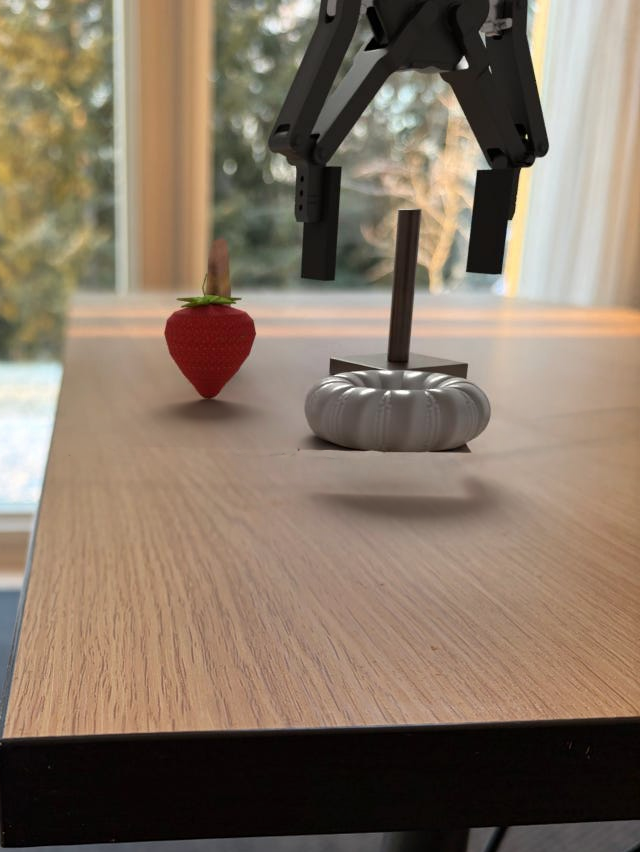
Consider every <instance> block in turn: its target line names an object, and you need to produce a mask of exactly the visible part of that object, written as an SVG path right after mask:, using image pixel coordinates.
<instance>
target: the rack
mask: <svg viewBox="0 0 640 852" xmlns="http://www.w3.org/2000/svg"><path fill="white" fill-rule="evenodd" d="M422 211H423V209H421V208H399V209H398V210H397V223H396V234H395V235H396V236H395V250H394V263H393V274H392V275H393V276H392V288H391V299H390V314H389V326H388V327H389V328H388V337H387V338H388V341H387V352H383V353H382V352H381V353H372V354H371V353H370V354H360V355H346V356H334V357H333V356H332V357H329V368H328V369H329V371H328V374H329V375H332V376H334V375H337V374H340V373H346V372H358V371H369V370H407V371H419V372H431V373H440V374H445V375H450V376H455V377H459V378H464V379H466V380H468V379H467V378H468V370H469V363H468V362H463V361H458V360H453V359H447V358H442V357H436V356H432V355H428V354H427V355H426V354H421V353H416V352H411V339H412V328H413V315H414V306H415V305H414V304H415V293H416V282H417V268H418V256H419V245H420V235H421V234H420V233H421V221H422Z"/></svg>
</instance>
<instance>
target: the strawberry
mask: <svg viewBox="0 0 640 852" xmlns="http://www.w3.org/2000/svg"><path fill="white" fill-rule="evenodd" d="M207 274H208V272H206V273H205V275H204V278H203V284H202V286H201V287H202V293H203V296H202V297H201V296H191V297H190V296H189V297H177V298H176V301H179V302H186V303H185V304H182V305H180V308H181V309H178V310H174V311H173V313H172V314H170V315H169V317H168V318H167V319H166V322H165V328H164V332H163V335H164V338H165V342H166V346H167V349H168V353H169V355H170V358H172V360H173V361H174V363H175V364H176V366H177V367H178V369H179V371H180V372H181V373H182V375H183V376H184V377H185V379H187V381H189V383H190V384H191V385H192V386H193V388H194V389H195V390H196V392H197V393H198V394H199V395H200V396H201V397H202V398H204V399H208V400H209V399H214V398H216V397H217V396H218V395H219V394H220V393H221V391H222V390H223V388H224V387H225V386H226V385H227V384H228V383H229V382H230V381H231V379H232V378H233V377H234V376H236V374H237V372H238V371H239V370H240V368H241V367H242V366H243V364H244V363H245V362H246V360H247V359H248V357H249V356H250V354H251V351H252V348H253V345H254V342H255V338H256V336H257V332H256V331H257V330H256V325H255V320H254V319H253V318H252V317H251V316H250V315H249V313H248V312H247V311H245V310H241V309H239V308H236V307H234V306H231V307H230V306H228V305H224V304H231V305H236V304H237V302H238V301H242V300H243V299H242V297H233V296H231V297H219V296H212V295H206V296H205V288H204V287H205V284H206V282H207ZM236 301H237V302H236Z"/></svg>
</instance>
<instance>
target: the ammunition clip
mask: <svg viewBox="0 0 640 852" xmlns="http://www.w3.org/2000/svg"><path fill="white" fill-rule="evenodd" d="M207 273H208V274H207V277H206V285H205V289H204V292H205V296H206V295H212V296H219V297H232V282H231V276H230V275H231V274H230V273H231V271H230V252H229V247H228V242H227V239H226V237H224V236H223V237H221V238H217V239H215V240H213V241H212V243H211V246H210V249H209V253H208V260H207ZM224 305H228V306H230V307H232V304H224Z"/></svg>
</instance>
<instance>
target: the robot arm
mask: <svg viewBox="0 0 640 852" xmlns="http://www.w3.org/2000/svg"><path fill="white" fill-rule="evenodd" d="M319 3H320V4H319V11H318V17H317V18H318V20H317V24H316V27H315V29H314V31H313V34H312V36H311V39H310V41H309V43H308V45H307V48H306V49H305V52H304V55H303V57H302V60H301V62H300V64H299V67H298V68H297V70H296V72H295V76H294V78H293V81H292V83H291V85H290V88H289V90H288V91H287V93H286V96H285V99H284V101H283V104H282V106H281V108H280V110H279V113H278V115H277V118H276V120H275V122H274V125H273V126H272V129H271V131H270V134H269V136H268V139H267V147H268V149H269V151H271V153H273V154H280V155H281V156H283V157H285V159H286V162H287V164H288V165H290V166H291V167H295V189H294V190H295V192H294V195H295V196H294V210H293V212H294V213H293V214H294V217H295V221H296V223H303V228H302V246H301V263H300V264H301V265H300V279H305V280H314V281H323V282H331V281H333V282H334V281H336V267H337V265H336V264H337V253H338V251H337V250H338V233H339V218H340V201H341V189H342V188H341V187H342V186H341V184H342V171H343V166H342V165H341V166H340V165H328V166H327V163H329V161H330V160H331V159H332V158H333V156H334V155H335V153H336V152H337V151H338V149H339V148H340V146H341V145H342V143H343V142H344V141H345V139H346V138H347V136H348V135H349V133H350V132H351V131H352V129H353V128H354V127H355V125H356V124H357V122H358V121H359V120H360V118H361V116H362V115H363V114H364V113H365V111H366V110H367V108H368V107H369V106H370V104H371V102H373V100H374V98H375V97H376V96H377V94H378V93H379V91H380V90H381V88H382V87H383V86H384V84H385V83H386V81H387V80H388V78H389V77H391V75H393V74H395V73H404V72H411V71H415V72H417V73H419V74H422V75H423V74H424V75H434V74H439V76H440V78H441V80H443V82H444V83H446V84H448V85H449V86H450V88H451V90H452V92H453V93H454V96H455V98H456V101H457V103H458V105H459V106H460V108H461V109H460V110H462V113H463V115H464V117H465V119H466V121H467V123H468V125H469V127H470V129H471V132H472V133H473V135H474V138H475V140H476V142H477V144H478V147H479V148H480V150H481V152H482V155H483V156H484V159H485V161H486V163H487V165H488V166H489V168H490V169H489V168H488V169H476V173H475V181H474V182H475V183H474V191H473V202H472V211H471V212H472V213H471V221H470V230H469V239H468V248H467V258H466V266H465V273H468V274H469V273H471V274H481V275H482V274H483V275H495V276H497V275H503V267H504V259H505V250H506V241H507V234H508V224H509V221H513V218H514V216H515V213H516V208H517V199H518V197H517V196H518V193H519V184H520V183H519V182H520V175H521V171H522V169H528V168H531V167H533V165H534V164H535V162H536V159H538V158H539V159H540V158H544V157H545V156H546V155H547V154H548V152H549V150H550V143H549V142H550V141H549V136H548V132H547V128H546V122H545V116H544V113H543V107H542V102H541V98H540V93H539V88H538V83H537V78H536V73H535V67H534V64H533V59H532V54H531V53H532V52H531V49H530V44H529V40H528V33H527V31H528V30H527V29H528V6H529V1H528V0H320V2H319ZM364 17H365V19H366V22H367V24H368V26H369V29H370V31H371V33H370V35H369V36H368V37H367V39H365V42H364V43H363V44H362V46H361V47H360V49H358V52H357V53H355V54H356V55H355V56H354V57H353V59H352V63H353V65H352V66H351V67H350V69H349V70H348V72H347V73H346V74H345V76H344V77H343V79H342V80H341V82H340V83H339V84H338V86H337V87H336V89H335V90H334V91H333V93H332V94H331V96H330V97H329V99H328V100H327V98H328V96H329V94H330V92H331V89H332V87H333V84H334V82H335V80H336V79H337V78H336V77H337V75H338V73H339V71H340V68H341V67H342V64H343V62H344V60H345V57H346V54H347V52H348V50H349V48H350V45H351V43H352V42H353V41H352V40H353V38H354V36H355V33H356V30H357V26H358V23H360V22H361V21H362V19H363V18H364ZM480 33H481V34H484V40H483V38H482V36H481V34H480ZM484 42H485V43H484ZM326 101H327V102H326Z"/></svg>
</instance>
